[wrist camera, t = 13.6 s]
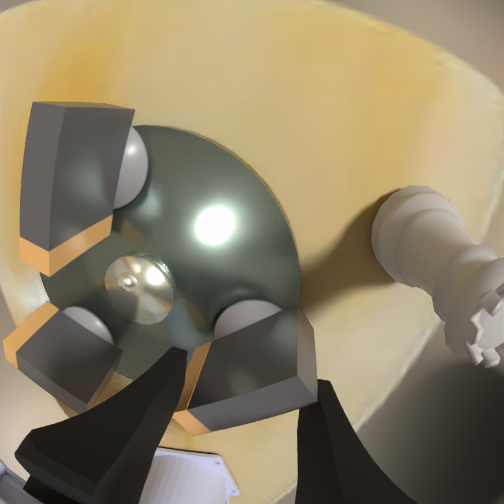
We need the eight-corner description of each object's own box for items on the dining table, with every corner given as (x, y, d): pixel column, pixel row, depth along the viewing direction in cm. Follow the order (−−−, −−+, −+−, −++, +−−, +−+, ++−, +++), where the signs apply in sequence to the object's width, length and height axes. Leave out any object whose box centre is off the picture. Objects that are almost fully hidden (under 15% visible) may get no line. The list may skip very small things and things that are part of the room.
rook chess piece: (358, 266, 14) (408, 396, 6) (379, 173, 12) (483, 233, 5) (435, 278, 13) (513, 387, 6) (460, 194, 12) (577, 262, 4)
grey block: (283, 278, 13) (278, 351, 9) (324, 341, 14) (331, 419, 10) (183, 327, 15) (148, 395, 10) (228, 379, 16) (210, 448, 11)
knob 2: (129, 334, 15) (88, 392, 11) (117, 373, 17) (84, 426, 13) (51, 284, 15) (0, 326, 11) (48, 328, 16) (8, 370, 12)
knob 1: (88, 100, 11) (12, 99, 6) (163, 116, 11) (95, 112, 7) (68, 214, 13) (2, 249, 9) (134, 240, 13) (73, 290, 9)
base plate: (308, 377, 17) (309, 407, 14) (98, 371, 19) (83, 392, 17) (277, 94, 11) (275, 86, 9) (24, 168, 14) (-4, 176, 12)
